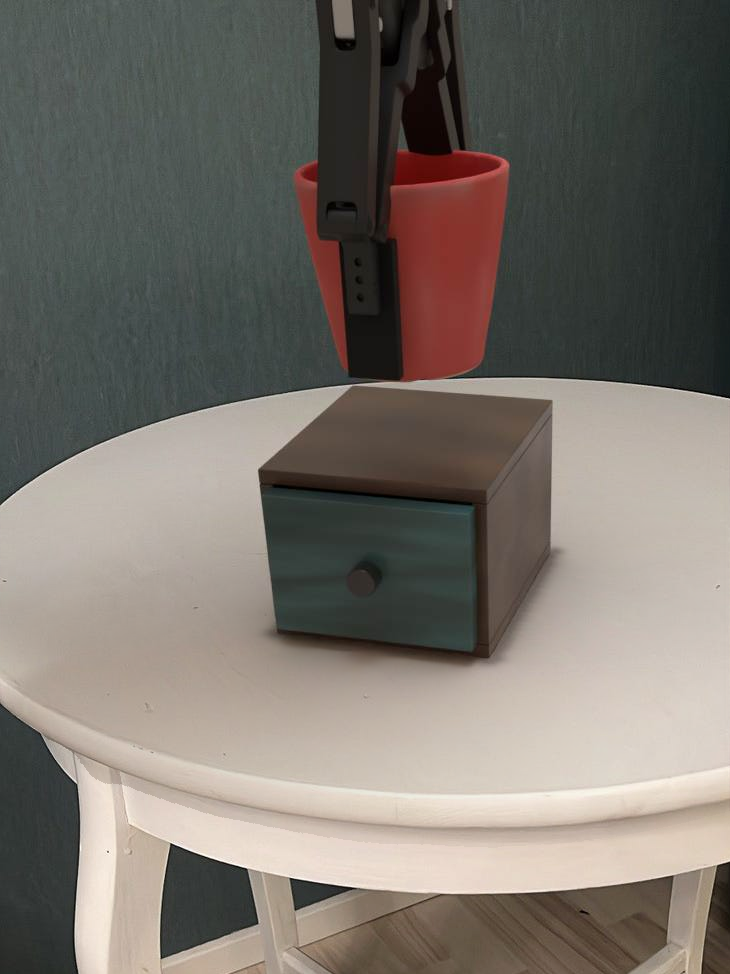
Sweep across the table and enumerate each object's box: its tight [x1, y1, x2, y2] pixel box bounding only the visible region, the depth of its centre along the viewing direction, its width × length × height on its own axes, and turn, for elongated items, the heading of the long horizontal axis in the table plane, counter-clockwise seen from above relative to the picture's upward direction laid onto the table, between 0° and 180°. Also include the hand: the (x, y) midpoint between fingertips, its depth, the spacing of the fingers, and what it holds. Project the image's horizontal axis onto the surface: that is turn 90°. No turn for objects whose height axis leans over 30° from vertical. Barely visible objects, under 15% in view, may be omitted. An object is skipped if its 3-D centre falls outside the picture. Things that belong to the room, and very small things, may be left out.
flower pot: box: [293, 149, 511, 384], centre depth 70 cm, size 11×11×10 cm
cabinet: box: [257, 385, 554, 658], centre depth 78 cm, size 15×13×10 cm
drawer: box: [260, 486, 478, 652], centre depth 76 cm, size 15×11×8 cm
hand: (409, 346), depth 73 cm, fingers closed on flower pot, 10 cm apart
